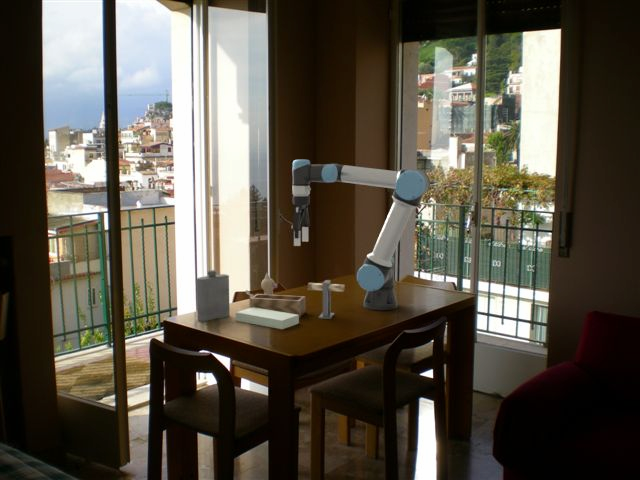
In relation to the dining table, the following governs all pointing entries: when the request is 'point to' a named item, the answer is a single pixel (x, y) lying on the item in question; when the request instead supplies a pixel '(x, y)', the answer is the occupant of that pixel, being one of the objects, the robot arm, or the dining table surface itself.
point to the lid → (267, 318)
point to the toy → (266, 286)
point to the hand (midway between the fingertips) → (301, 243)
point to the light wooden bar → (330, 287)
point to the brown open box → (279, 303)
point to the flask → (212, 296)
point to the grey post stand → (326, 301)
